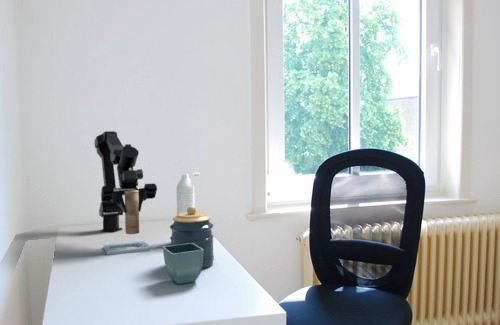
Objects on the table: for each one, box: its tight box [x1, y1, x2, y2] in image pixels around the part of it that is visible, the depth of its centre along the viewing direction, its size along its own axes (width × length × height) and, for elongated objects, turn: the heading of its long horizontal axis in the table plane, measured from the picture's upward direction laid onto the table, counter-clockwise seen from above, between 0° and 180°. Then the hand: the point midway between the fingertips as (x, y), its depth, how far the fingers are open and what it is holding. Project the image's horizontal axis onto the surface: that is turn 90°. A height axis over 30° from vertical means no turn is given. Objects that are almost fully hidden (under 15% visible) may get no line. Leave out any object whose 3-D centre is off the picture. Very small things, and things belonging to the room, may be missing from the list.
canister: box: [169, 206, 215, 270], centre depth 141 cm, size 13×13×18 cm
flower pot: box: [162, 243, 204, 285], centre depth 125 cm, size 9×9×9 cm
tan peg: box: [124, 190, 140, 235], centre depth 161 cm, size 5×5×14 cm
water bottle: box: [176, 172, 201, 215], centre depth 171 cm, size 9×6×25 cm
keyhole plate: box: [103, 240, 152, 256], centre depth 161 cm, size 14×11×1 cm
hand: (132, 211), depth 160 cm, fingers closed on tan peg, 5 cm apart
